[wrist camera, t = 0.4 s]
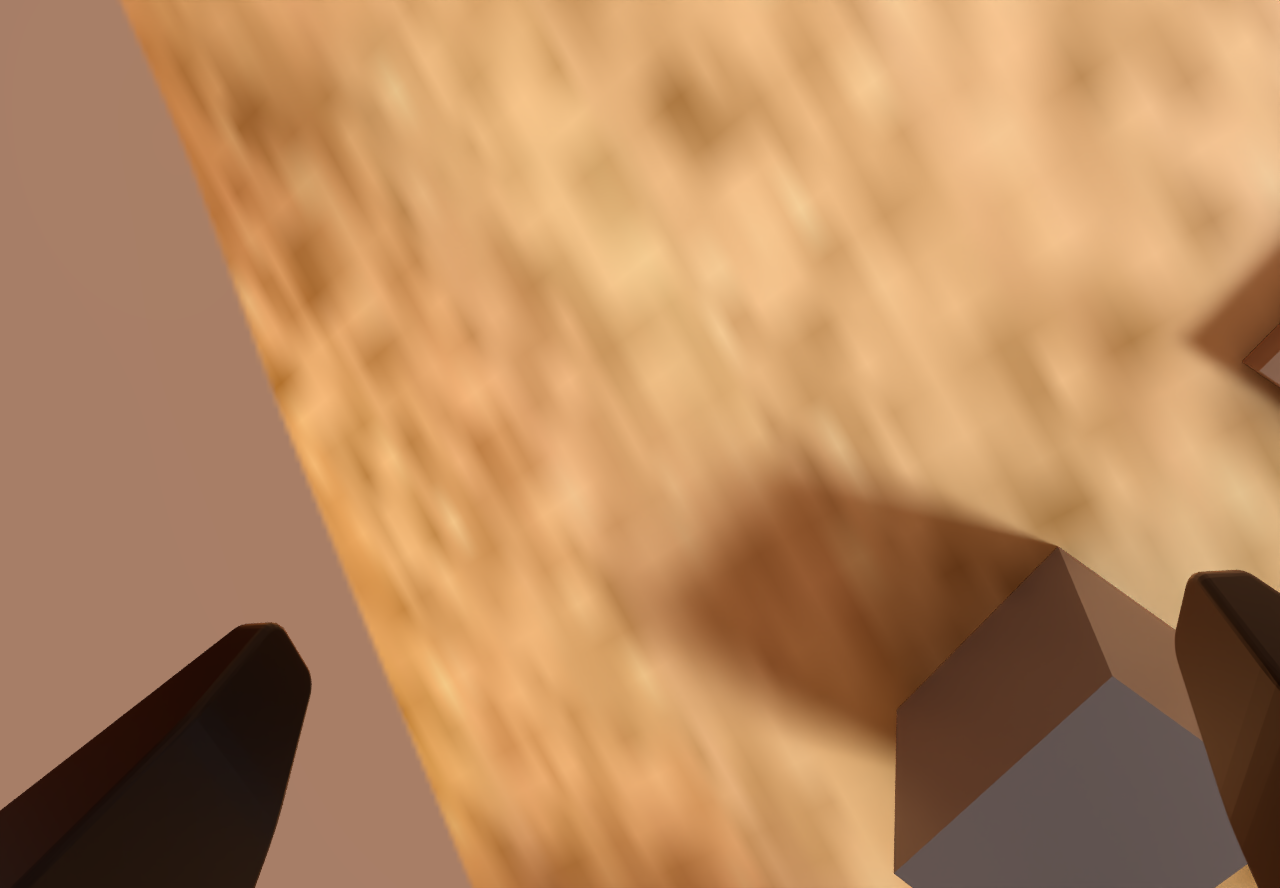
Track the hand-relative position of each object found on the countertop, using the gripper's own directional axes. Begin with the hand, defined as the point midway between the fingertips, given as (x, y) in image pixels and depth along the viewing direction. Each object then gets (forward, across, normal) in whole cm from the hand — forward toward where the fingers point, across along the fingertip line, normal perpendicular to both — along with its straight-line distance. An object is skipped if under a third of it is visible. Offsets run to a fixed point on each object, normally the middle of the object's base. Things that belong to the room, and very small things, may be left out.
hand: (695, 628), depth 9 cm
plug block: (+9, -6, +12) cm, 17 cm away
